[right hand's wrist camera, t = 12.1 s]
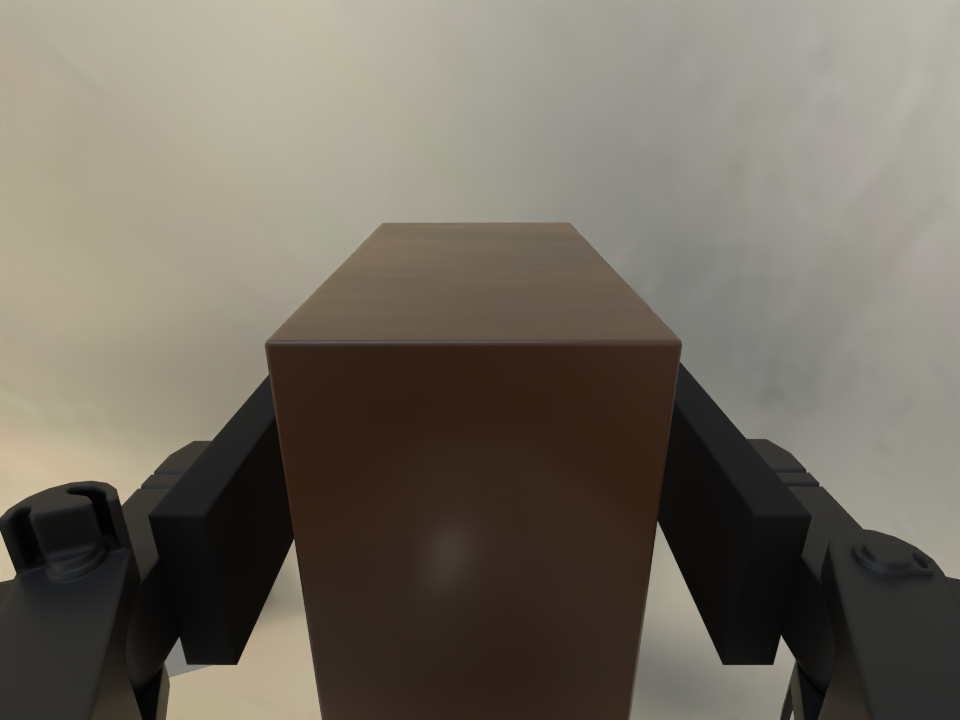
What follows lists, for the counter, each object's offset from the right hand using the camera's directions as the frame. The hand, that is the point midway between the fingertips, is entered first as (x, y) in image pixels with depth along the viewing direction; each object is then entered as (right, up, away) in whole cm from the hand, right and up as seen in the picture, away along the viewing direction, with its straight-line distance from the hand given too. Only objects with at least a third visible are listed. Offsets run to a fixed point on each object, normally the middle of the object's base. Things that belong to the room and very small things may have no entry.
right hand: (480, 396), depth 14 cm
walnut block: (0, -8, +4) cm, 9 cm away
